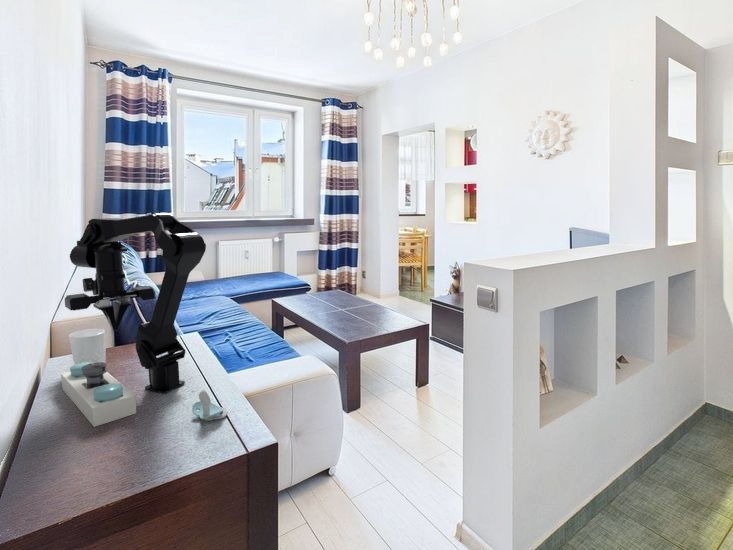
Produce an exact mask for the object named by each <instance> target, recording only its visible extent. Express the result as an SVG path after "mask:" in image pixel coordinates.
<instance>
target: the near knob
mask: <svg viewBox="0 0 733 550" xmlns="http://www.w3.org/2000/svg"><path fill="white" fill-rule="evenodd" d="M121 384H122V383H121ZM121 384H107V385H103V386H100V387H97V388H96V389H94V391H93V395H94V400H95V401H98V402H100V403H102V402H105V401H111V400H114V399H117V398H119V397H121V396H122V395H123V387H122V385H123V384H122V385H121Z"/></svg>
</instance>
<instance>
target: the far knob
mask: <svg viewBox="0 0 733 550" xmlns="http://www.w3.org/2000/svg"><path fill="white" fill-rule="evenodd" d="M90 363H95V362H85V363H79V364H76V365H75V364H74V365H72V366H70V368H69V371H70V372H71V376H73V377H76V378H77V377H82V369H81V368H82V367H83V366H85V365H87V364H90Z"/></svg>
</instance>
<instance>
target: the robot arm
mask: <svg viewBox="0 0 733 550" xmlns="http://www.w3.org/2000/svg"><path fill="white" fill-rule="evenodd" d="M167 231H168V232H167ZM145 233H153V235H154V236H153V237H154V241H155V243H156V245H157V246H158V247H159V248H160V249H161V250H162V255H161V257H162V260H163V263H164V266H165V271H164V274H163V278H162V282H161V285H160V287H159V288H160V289H159V291H158V296H156V291H155V289H154V288H152V287H151V286H147V285H141V286H134V287H131V289H130V290H126V287H125V279H126V275H125V273H124V266H123V265H124V264H123V253H124V252H128V248H127V246H125V245H123V244H122V242H121V241H124V240H126V239H128V238H129V237H130V236H132V235H138V234H145ZM168 233H170V234H168ZM206 249H207V245H206V242H205V240H204V238H203V236H201V235H200V233H198V232H196V231H195V230H194V229H193V228H192V227H190V226H188V225H187V224H185V223H183V222H181V221H180V220H178V219H177V218H176V217H175V216H174V215H173V214H171V213H168V212H160V213H159V212H152V213H150V214H147V215H141V216H136V217H129V218H119V217H115V218H114V217H111V218H110V217H109V218H91V219H89V220H88V223H87V225H86V227H85V229H84V231H83V234H82V236H81V238H80V239H79V240H76V245H75V246H74V247H73V248H72V249H71V251H70V254H69V259H70V261H71V263H72V265H74V266H76V267H78V268H79V267H80V268H90V269H95V272H96V273H95V274H94V275H95V276H94V277H95V278H94V279H93V277H88V278H86V277H85V278H83V279H82V288H83V291H84V292H85V293H86V294H85V293H76V294H69V295H66V296H65V298H64V307H65V308H66V309H67V310H69V311H80V310H81V311H82V310H87V309H89V308H90V307H91V305H93V308H95V309H96V310H99V311H101V312H102V313H103V315H104V316H105V318H106V320H107V322H108V324H109V326H110V328H111V330H112V332H117V331H118V330H119V328H120V325H121V322H122V320H123V318H124V315H125V313H126V312H127V310H128V307H130V306H132V305H133V303H132V302H131V299H134V298H135V299H136V298H139V299H141V300H142V301H149V300H154V299H156V297H157V300H156V303H155V305H154V309H153V312H152V316H151V319H150V321H148V322H144V323H141V324H139V326H138V328H137V334H136V336H135V337H134V340H136V341H135V350H136V351H135V352H136V354H137V357H138V360H139V363H140V366H141V367H142V368H144V369H145V370H147V371H148V381H149V384H147V385H145V386H144V389H145V390H148V391H152V392H156V393H161V394H166V393H168V392H171V390H174V389H176V388H178V387H181V386H182V385H185V383H186V381H185V380H181V379H180V370H179V367H180V366H179V365H180V364H179V360H181V359H184V358H185V355H186V349H185V348H184V347H183V345H182V344H181V342H180V341H179V340H178V339H177V338H178V332H177V329H176V326H175V325H174V324H175V321H176V319H177V315H178V311H179V308H180V305H181V301H182V299H183V295H184V292H185V289H186V285H187V282H188V279H189V277H190V276H189V275H190V273H192V271H193V270H194V269H195V268H196V267H197V266H198V265H199V264H200V263H201V261H202V259H203V258H204V257H203V256H204V255H205V253H206ZM87 292H88V293H89V292H92V295H91V296H89V295H87ZM111 302H112V305H111Z"/></svg>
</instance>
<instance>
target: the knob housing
mask: <svg viewBox="0 0 733 550" xmlns="http://www.w3.org/2000/svg"><path fill="white" fill-rule="evenodd" d="M103 376H104V385H107V384H121V385H122V387H123V395H122V396H121V397H119V398H117V399H114V400H111V401H105V402H102V403H100V402H98V401H95V400H94V395H93V391H94V389H96V388H97V387H95V388H91V389H89V388H87V380H86V377H84V376H82V377H77V378H76V377H73V376H71V372H70V370H68V371H65V372H61V373H60V380H61V386H62V387H61V388H62V390H63V392H64V393H65V394H66V396H67V397H68V398H69V399H70V400H71V402H73V403H74V405H75V406H76V407H77V408H78V410H79V411H80V412H81V413H82V414H83V416H84V417H85V418H86V419H87V420H88V422H89V423H90V424H91V425H92V426H93V427H94V428H95V427H98V426H101V425H104V424H107V423H110V422H113V421H117V420H120V419H122V418H125V417H129V416H132V415H136V414H137V404H136V403H137V402H136V394H134V393H133V391H132V392H131V391H130V390H129V389H128V388H127V387H126V386H125V385H123V383H121V382H120V381H119V380H117V379H116V378H115V377H114V376H112V375H111V374H110V373H109V372H108V371H107V372H106V373H104V374H103ZM99 387H100V386H99Z"/></svg>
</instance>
